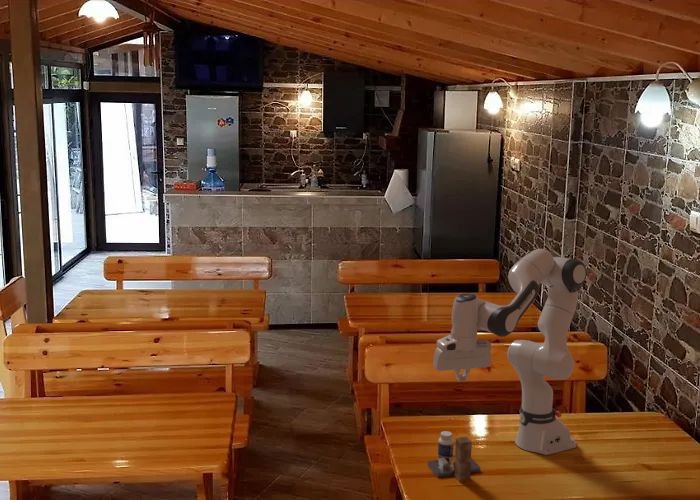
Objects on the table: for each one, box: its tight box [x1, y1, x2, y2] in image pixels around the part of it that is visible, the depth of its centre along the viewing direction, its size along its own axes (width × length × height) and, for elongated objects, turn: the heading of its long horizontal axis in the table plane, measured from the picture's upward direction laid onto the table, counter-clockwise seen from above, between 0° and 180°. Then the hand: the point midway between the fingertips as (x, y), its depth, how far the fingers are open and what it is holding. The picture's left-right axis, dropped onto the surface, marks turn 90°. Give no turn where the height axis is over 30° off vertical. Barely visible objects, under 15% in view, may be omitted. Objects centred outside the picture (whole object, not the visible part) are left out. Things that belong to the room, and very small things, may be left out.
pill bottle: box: [437, 430, 454, 460], centre depth 271 cm, size 5×5×10 cm
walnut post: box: [453, 436, 473, 482], centre depth 257 cm, size 4×4×14 cm
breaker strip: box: [427, 455, 482, 478], centre depth 265 cm, size 16×9×4 cm, turn 106°
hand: (461, 380), depth 259 cm, fingers closed
